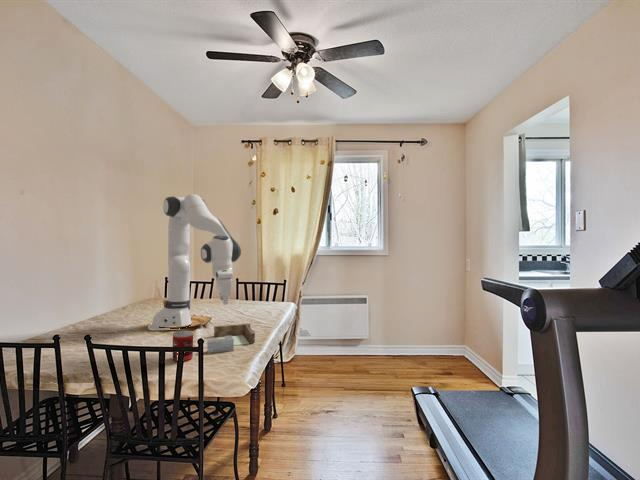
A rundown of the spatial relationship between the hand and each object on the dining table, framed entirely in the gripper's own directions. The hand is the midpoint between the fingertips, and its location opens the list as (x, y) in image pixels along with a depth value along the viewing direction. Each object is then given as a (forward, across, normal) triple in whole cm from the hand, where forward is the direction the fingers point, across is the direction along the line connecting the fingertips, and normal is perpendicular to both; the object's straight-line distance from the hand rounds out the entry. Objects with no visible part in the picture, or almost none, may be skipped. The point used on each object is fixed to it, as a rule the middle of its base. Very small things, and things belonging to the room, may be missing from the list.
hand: (223, 302), depth 164 cm
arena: (+22, -12, +6) cm, 26 cm away
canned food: (+21, +7, -19) cm, 29 cm away
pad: (+22, -10, +5) cm, 24 cm away
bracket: (+21, 0, -3) cm, 21 cm away
